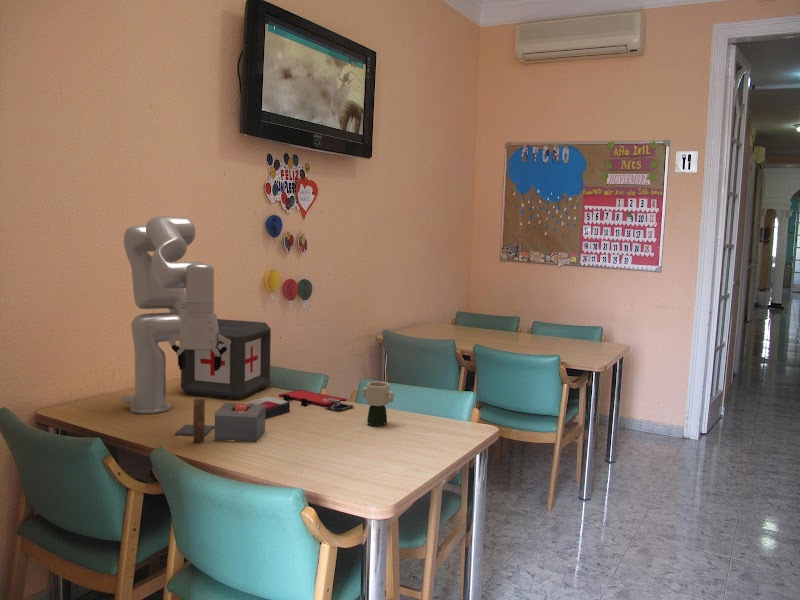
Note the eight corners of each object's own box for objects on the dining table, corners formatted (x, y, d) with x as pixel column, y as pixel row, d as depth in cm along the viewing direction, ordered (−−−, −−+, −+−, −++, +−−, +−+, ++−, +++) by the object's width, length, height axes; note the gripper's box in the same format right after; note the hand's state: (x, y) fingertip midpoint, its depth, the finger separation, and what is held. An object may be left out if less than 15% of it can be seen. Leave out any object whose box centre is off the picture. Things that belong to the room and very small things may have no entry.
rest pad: (174, 435, 197) (174, 433, 197) (185, 426, 206) (185, 424, 206) (205, 436, 197) (205, 434, 196) (214, 427, 205) (214, 425, 205)
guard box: (214, 440, 193) (214, 412, 193) (225, 429, 204) (225, 403, 204) (256, 441, 193) (256, 414, 192) (265, 430, 204) (265, 404, 203)
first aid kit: (214, 380, 267) (214, 317, 265) (272, 386, 261) (273, 322, 258) (177, 395, 243) (177, 325, 241) (240, 402, 237) (241, 330, 234)
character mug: (397, 424, 216) (398, 384, 214) (387, 429, 209) (388, 388, 208) (367, 419, 220) (368, 379, 219) (356, 424, 214) (357, 383, 213)
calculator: (232, 405, 219) (266, 394, 231) (233, 418, 220) (266, 406, 232) (257, 411, 213) (290, 400, 225) (257, 424, 214) (290, 412, 226)
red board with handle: (335, 414, 226) (363, 406, 238) (335, 405, 225) (363, 398, 238) (271, 400, 243) (300, 393, 255) (271, 392, 243) (300, 386, 255)
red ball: (233, 416, 197) (233, 406, 196) (236, 413, 200) (236, 403, 200) (245, 417, 196) (245, 406, 196) (248, 413, 200) (248, 403, 200)
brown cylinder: (191, 442, 191) (192, 400, 189) (195, 439, 194) (195, 398, 192) (202, 443, 191) (202, 401, 189) (205, 439, 194) (206, 398, 192)
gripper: (163, 309, 185) (164, 371, 187) (227, 310, 185) (226, 373, 186) (173, 306, 192) (173, 365, 194) (234, 308, 192) (234, 367, 194)
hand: (199, 369), depth 190 cm, fingers open, 9 cm apart
